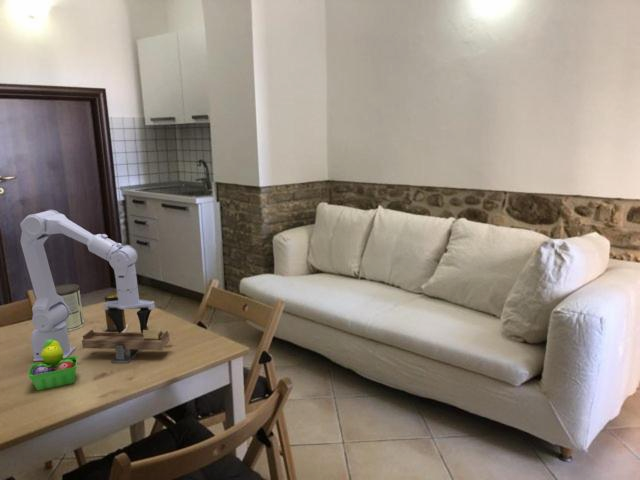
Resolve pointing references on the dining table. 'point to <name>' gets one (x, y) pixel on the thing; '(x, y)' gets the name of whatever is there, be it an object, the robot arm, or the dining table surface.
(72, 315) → the coffee can
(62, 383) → the fruit basket
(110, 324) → the condiment
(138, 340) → the balance beam
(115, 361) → the pivot stand
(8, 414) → the dining table surface
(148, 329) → the wooden cube block
